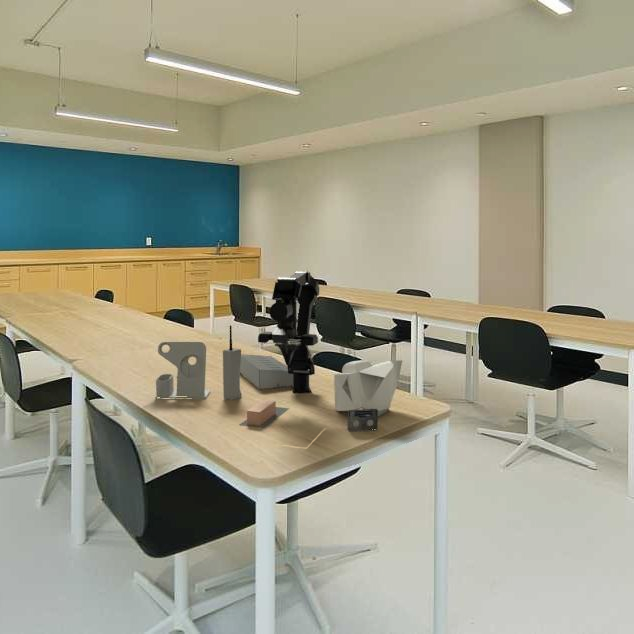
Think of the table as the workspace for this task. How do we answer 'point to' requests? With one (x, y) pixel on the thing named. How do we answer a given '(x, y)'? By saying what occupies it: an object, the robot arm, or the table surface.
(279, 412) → the charcoal mat
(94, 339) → the table surface
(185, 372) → the phone holder
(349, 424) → the mini dv tape
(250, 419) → the terracotta block
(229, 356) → the vintage mobile phone
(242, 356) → the warehouse
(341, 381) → the folded paper
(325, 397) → the table surface
